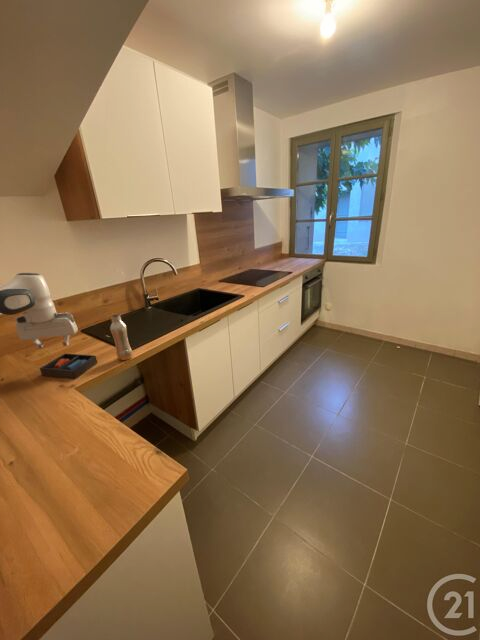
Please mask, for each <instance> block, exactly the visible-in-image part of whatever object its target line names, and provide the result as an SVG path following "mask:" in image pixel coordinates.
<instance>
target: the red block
mask: <svg viewBox="0 0 480 640" xmlns="http://www.w3.org/2000/svg"><path fill="white" fill-rule="evenodd" d="M68 361H70V360H69V359H60V360H59V361H58V362H57V363H56V365H55V369H57V368H59V367H60V366H62V365H64V364H65V363H67V362H68Z"/></svg>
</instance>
